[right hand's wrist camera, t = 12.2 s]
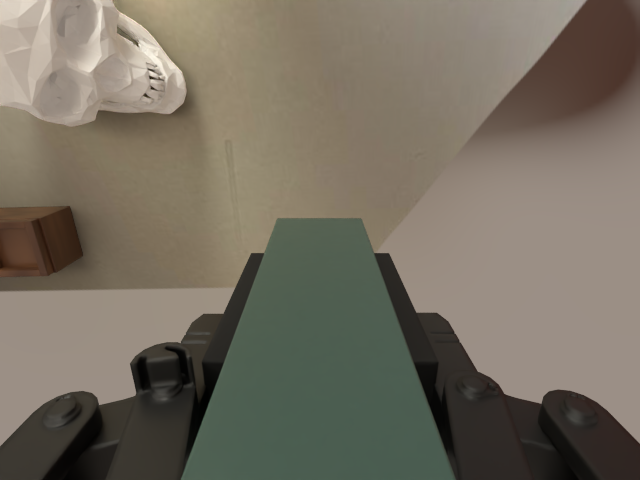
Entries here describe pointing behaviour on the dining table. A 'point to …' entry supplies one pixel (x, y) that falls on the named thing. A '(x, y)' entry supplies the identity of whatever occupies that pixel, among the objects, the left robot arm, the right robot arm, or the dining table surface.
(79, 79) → the skull
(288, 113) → the dining table surface
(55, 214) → the walnut base
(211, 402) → the peg
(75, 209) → the dining table surface
